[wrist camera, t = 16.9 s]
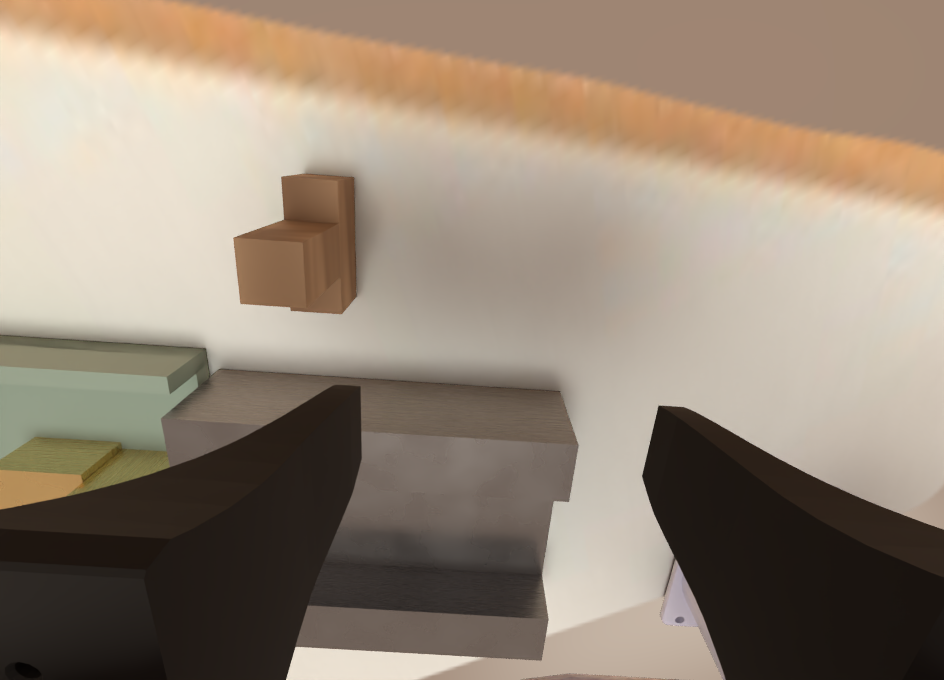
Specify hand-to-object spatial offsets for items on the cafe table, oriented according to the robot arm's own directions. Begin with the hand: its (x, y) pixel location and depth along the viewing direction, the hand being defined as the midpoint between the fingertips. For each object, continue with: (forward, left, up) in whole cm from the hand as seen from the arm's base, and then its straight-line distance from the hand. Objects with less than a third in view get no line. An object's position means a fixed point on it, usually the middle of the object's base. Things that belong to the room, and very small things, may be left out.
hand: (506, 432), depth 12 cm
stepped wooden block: (+7, -2, -10) cm, 13 cm away
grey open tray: (+5, +10, -10) cm, 15 cm away
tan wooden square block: (+19, +10, -9) cm, 23 cm away
